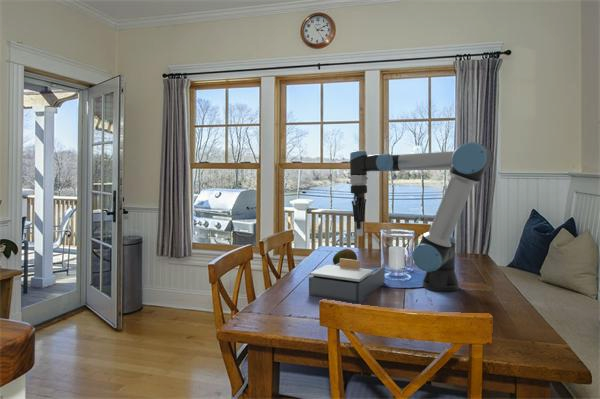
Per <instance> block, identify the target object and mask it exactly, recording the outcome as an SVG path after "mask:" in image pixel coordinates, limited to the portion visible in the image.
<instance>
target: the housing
mask: <svg viewBox="0 0 600 399" xmlns="http://www.w3.org/2000/svg"><path fill="white" fill-rule="evenodd" d="M336 266H340V263H338V264H336ZM385 269H386V267H385V266H381V267H379V268H378V269H377V270H374V272H373V273H372V274H370V275H369V276H367V277H366V278H364V279H363V280H361V281H360V282H357V281H351V283H350V282H343V281H335V280H332V279H333V278H328V277H320V276H313V275H310V276H309V277H308V296H312V297H316V298H317V297H318V298H324V299H329V300H337V301H341V302H347V303H348V302H349V303H355V304H360V302H362V301H363V300H365V299H366V298H367V297H368V296H370V295H372V293H374V292H375V291H376V290H377V289H379V288H380V287H381V286H382V285H384V284H385V283H384V282H386V280H385V273H386V272H385ZM383 283H384V284H383Z"/></svg>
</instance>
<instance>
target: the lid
mask: <svg viewBox="0 0 600 399" xmlns="http://www.w3.org/2000/svg"><path fill="white" fill-rule="evenodd" d="M360 261H361V260H360V259H357V260H352V259H342V258H340V266H336V265H334V264H326V265H322V267H319V268H317V269H315V270H313V271H310V272H309V275H310V276H320V277H328V278H335V279H342V280H350V281H357V282H360V281H361V280H363V279H364V278H366V277H367V276H369V275H370V274H372V273H374V272H375V270H374V269H369V268H361V267H360V263H361V262H360Z"/></svg>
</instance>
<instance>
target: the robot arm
mask: <svg viewBox="0 0 600 399" xmlns="http://www.w3.org/2000/svg"><path fill="white" fill-rule="evenodd" d="M494 158H495V157H494V153H493V151H492V149H491V148H490V147H488V146H487V145H484V144H481V143H478V142H466V143H463V144H461V145H459V146H458V147H456V149H455V150H454V151H453V150H452V151H439V152H437V151H435V152H422V153H407V154H404V153H403V154H389V153H375V154H367V151H365V150H353V151H351V152H350V157H349V165H350V166H349V167H350V169H349V170H350V171H349V172H350V175H349V177H350V193H351V194H352V195H353V200H351V205H352V214H353V223H354V222H355V228H356V230H355V232H356V237H363V236H364V222H365V221H366V217H365V216H366V205H367V199H365V194H367V193H368V185H367V184H368V181H367V180H368V179H369V178H368V173H369V172H399V171H400V172H401V171H404V172H405V171H406V172H407V171H409V172H410V171H433V170H434V171H437V170H449V171H448V173H449V175H450V180H449V181H448V183H447V184H448V185H447V187H446V189H445V192H444V193H443V197H442V199H441V201H440V203H439V206H438V208H437V211H436V212H435V215H434V217H433V218H434V219H433V221H432V223H431V226H430V228H429V229H428V230H429V231H427V232H424V233H423V235H422V237H421V238H420V242H419V244H417V245H416V246H415V248H414V249H413V251H412V254H411V256H412V257H411V258H412V261H413V262H414V265H415V266H416V267H417V268H418V269H420V270H421V271H423V272H425V274H424V277H423V279H422V287H423V288H424V289H426V290H430V291H433V292H441V293H442V292H443V293H448V292H449V293H451V292H455V291H459V290H460V283H459V279H458V276H457V272H456V239H455V237H454V236H452V235H453V233H454V232H455V231H454V230H455V228H456V226H457V224H458V222H459V219H460V217H461V214H462V213H463V210H464V207H465V205H466V203H467V201H468V198H469V197H470V194H471V191H472V189H473V187H474V186H475V185H476V184H479V183H480V182H481V179H482V177H483V175H484V173H485V172H487V171H488V170H489V169H490V168H491V167H492V165H493V163H494Z"/></svg>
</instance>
